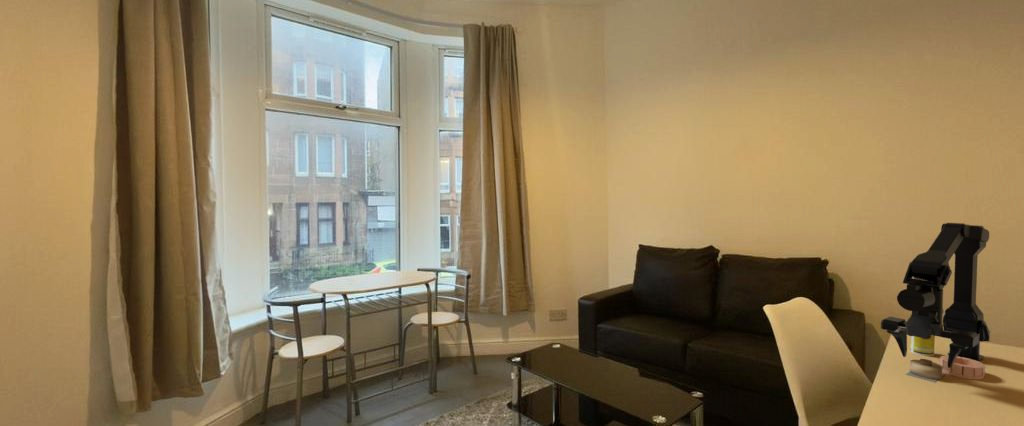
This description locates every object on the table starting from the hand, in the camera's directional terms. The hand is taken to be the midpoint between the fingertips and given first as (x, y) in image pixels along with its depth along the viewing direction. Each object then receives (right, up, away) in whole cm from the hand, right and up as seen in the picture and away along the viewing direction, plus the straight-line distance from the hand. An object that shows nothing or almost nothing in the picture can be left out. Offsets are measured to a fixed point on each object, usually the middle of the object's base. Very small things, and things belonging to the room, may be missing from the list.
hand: (926, 361), depth 120 cm
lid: (0, -3, 0) cm, 3 cm away
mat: (0, -4, 0) cm, 4 cm away
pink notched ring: (+10, -4, +1) cm, 11 cm away
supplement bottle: (+13, -3, +15) cm, 20 cm away
